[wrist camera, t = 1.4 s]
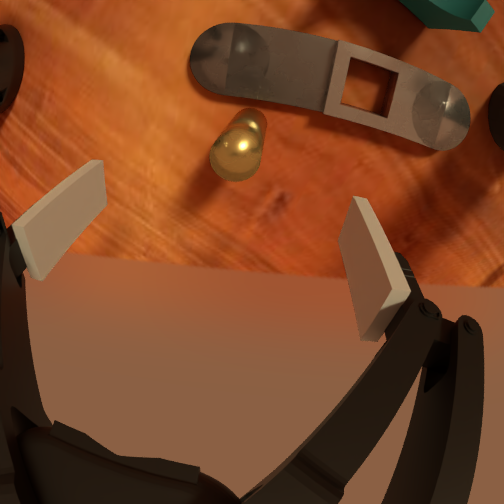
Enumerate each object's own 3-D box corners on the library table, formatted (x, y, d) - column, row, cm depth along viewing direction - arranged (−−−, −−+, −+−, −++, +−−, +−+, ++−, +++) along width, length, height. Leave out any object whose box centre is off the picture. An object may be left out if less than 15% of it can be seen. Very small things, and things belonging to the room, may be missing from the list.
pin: (231, 136, 30) (207, 177, 21) (235, 105, 28) (211, 130, 19) (264, 141, 30) (256, 185, 21) (269, 110, 28) (264, 138, 19)
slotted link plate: (189, 90, 27) (182, 93, 25) (198, 22, 23) (191, 19, 21) (448, 152, 28) (458, 159, 26) (466, 95, 23) (477, 98, 21)
